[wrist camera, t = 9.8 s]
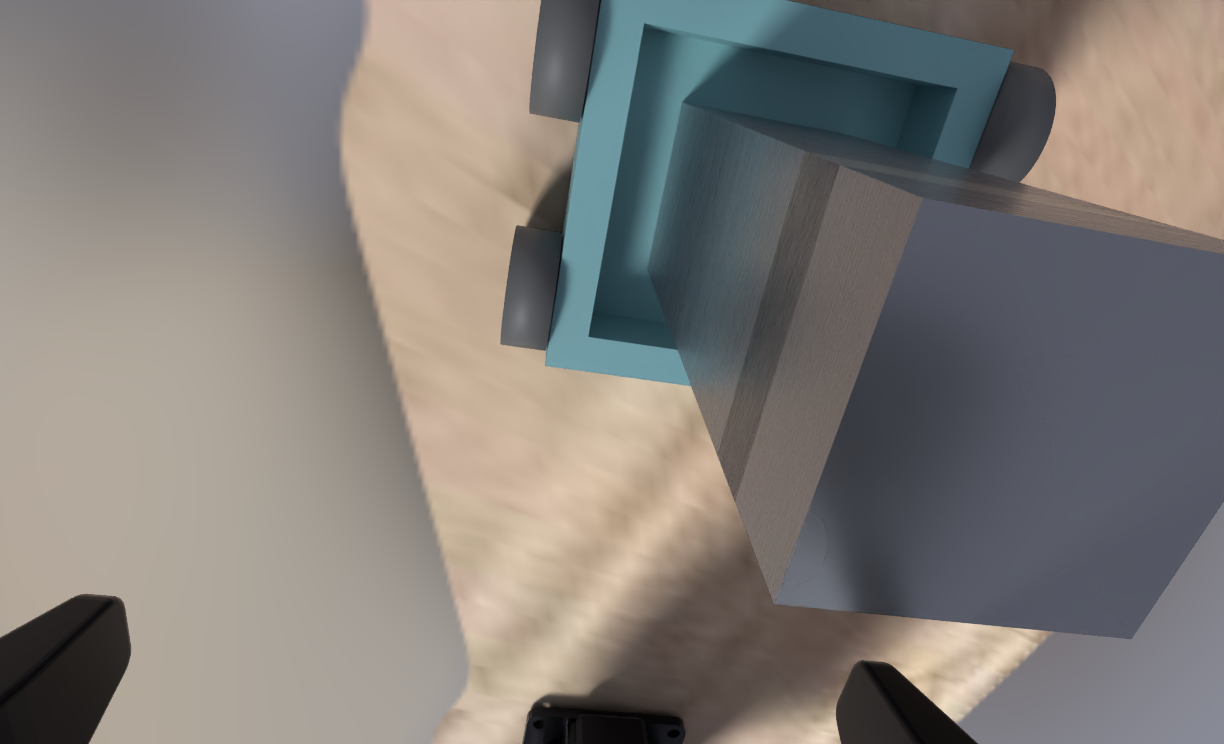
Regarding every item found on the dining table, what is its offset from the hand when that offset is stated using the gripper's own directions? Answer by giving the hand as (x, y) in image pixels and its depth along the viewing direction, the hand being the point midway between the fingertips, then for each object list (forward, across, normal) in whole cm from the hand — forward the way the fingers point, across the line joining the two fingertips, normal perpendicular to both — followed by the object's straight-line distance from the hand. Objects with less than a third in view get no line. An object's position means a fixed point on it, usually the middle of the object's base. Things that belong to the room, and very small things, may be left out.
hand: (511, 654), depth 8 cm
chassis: (+13, -5, -4) cm, 14 cm away
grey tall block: (+12, -5, -4) cm, 14 cm away
